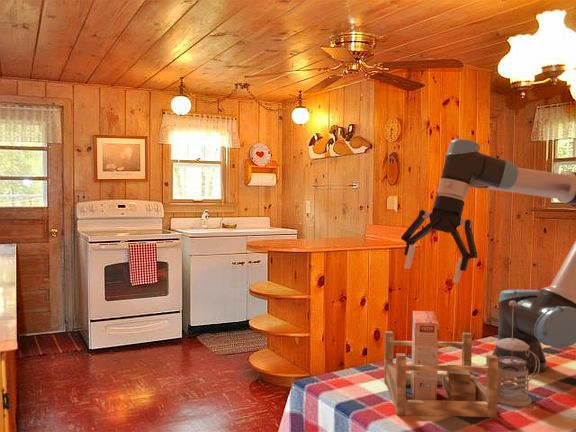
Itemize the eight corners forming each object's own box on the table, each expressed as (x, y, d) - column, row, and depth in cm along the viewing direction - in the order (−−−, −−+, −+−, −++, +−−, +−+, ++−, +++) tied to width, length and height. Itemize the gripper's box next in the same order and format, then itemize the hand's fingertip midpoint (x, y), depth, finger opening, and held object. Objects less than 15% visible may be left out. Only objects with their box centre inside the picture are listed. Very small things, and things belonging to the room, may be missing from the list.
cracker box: (438, 409, 125) (439, 323, 124) (412, 407, 126) (413, 322, 125) (433, 388, 138) (435, 310, 138) (410, 386, 140) (411, 309, 139)
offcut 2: (464, 383, 137) (464, 374, 137) (475, 395, 129) (475, 385, 129) (441, 383, 137) (442, 374, 137) (451, 395, 129) (451, 385, 129)
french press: (484, 390, 137) (486, 296, 136) (529, 391, 137) (531, 297, 136) (498, 405, 127) (500, 304, 126) (546, 406, 127) (549, 305, 126)
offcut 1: (467, 375, 136) (467, 365, 136) (469, 384, 129) (470, 374, 129) (447, 373, 137) (447, 364, 137) (448, 382, 130) (449, 373, 130)
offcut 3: (465, 391, 138) (465, 382, 138) (475, 405, 129) (476, 395, 129) (442, 391, 138) (442, 381, 138) (451, 405, 129) (451, 395, 129)
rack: (468, 383, 142) (469, 332, 142) (496, 417, 121) (498, 357, 120) (384, 381, 144) (384, 331, 143) (396, 414, 122) (397, 355, 121)
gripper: (402, 186, 142) (382, 262, 142) (495, 204, 127) (473, 288, 127) (412, 191, 148) (393, 264, 148) (502, 209, 133) (481, 289, 134)
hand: (430, 275), depth 138 cm, fingers open, 13 cm apart
